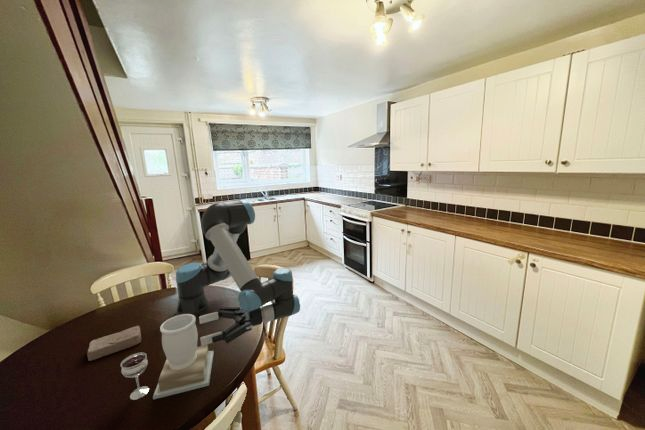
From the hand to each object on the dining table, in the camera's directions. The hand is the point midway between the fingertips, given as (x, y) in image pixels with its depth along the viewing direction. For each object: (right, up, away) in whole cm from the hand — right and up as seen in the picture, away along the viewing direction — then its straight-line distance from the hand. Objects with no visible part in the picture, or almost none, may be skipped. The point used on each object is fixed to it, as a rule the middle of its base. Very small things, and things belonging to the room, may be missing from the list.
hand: (199, 330), depth 88 cm
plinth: (-5, -15, 0) cm, 16 cm away
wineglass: (-16, -17, -7) cm, 25 cm away
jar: (-5, -11, -1) cm, 12 cm away
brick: (-41, -14, +15) cm, 46 cm away
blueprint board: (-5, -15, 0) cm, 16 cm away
